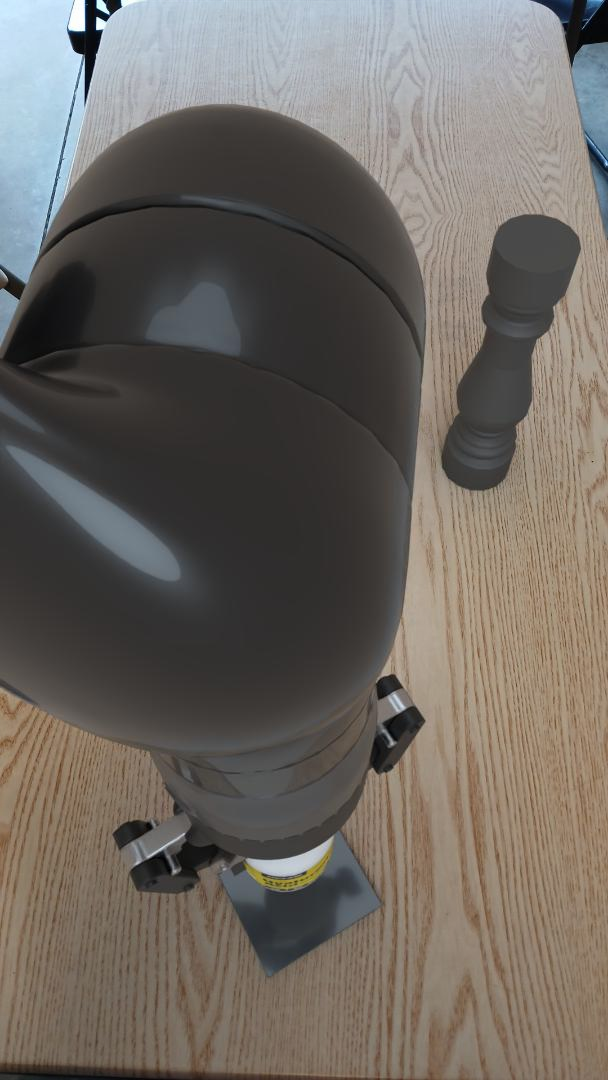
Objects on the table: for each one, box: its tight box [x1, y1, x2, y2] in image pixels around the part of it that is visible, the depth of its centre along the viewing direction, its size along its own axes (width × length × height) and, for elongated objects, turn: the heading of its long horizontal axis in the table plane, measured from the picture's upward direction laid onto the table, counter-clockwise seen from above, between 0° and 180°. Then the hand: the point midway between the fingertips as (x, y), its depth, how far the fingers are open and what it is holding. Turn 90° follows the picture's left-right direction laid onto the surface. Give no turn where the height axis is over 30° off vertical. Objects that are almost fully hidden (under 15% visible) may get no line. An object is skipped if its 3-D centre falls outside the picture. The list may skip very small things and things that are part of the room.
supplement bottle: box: [243, 834, 335, 892], centre depth 43 cm, size 5×5×10 cm
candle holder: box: [441, 213, 582, 491], centre depth 66 cm, size 6×6×25 cm
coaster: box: [217, 829, 383, 978], centre depth 59 cm, size 9×9×1 cm
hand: (282, 823), depth 43 cm, fingers closed on supplement bottle, 5 cm apart
